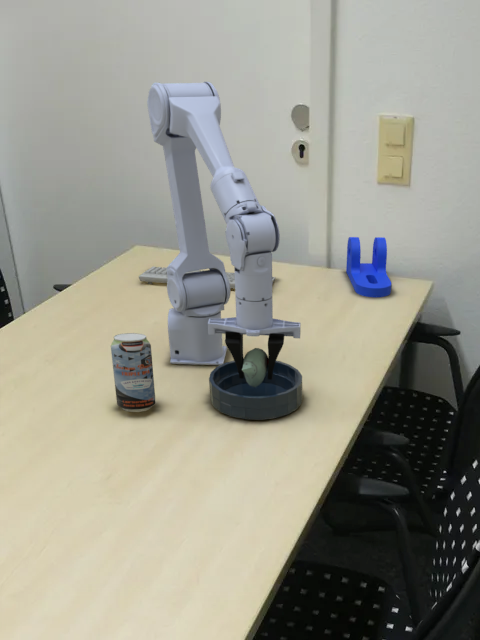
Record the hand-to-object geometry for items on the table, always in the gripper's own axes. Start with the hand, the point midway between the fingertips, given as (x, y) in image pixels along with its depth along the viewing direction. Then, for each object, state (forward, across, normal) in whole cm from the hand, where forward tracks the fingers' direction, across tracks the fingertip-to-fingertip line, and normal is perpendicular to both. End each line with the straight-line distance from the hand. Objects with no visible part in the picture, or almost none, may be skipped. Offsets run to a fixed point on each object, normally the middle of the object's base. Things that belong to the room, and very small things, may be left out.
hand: (255, 376), depth 128 cm
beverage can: (+4, -19, -4) cm, 20 cm away
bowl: (+4, 0, 0) cm, 4 cm away
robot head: (+2, 0, 0) cm, 2 cm away
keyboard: (+5, -15, +59) cm, 61 cm away
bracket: (+5, +22, +62) cm, 66 cm away
